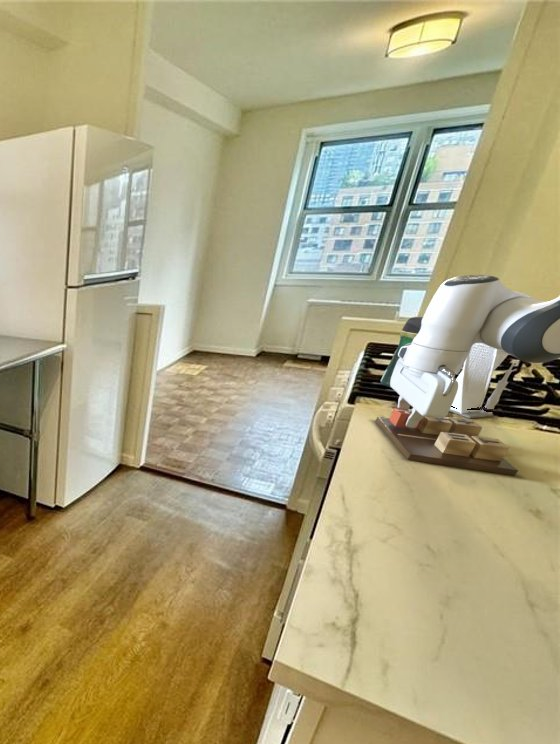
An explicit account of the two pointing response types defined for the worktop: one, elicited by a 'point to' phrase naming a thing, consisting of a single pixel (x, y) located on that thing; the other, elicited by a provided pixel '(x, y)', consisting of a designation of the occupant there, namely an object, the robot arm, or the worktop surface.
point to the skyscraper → (479, 380)
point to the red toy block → (401, 417)
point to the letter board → (437, 450)
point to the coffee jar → (406, 339)
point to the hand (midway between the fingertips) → (404, 421)
